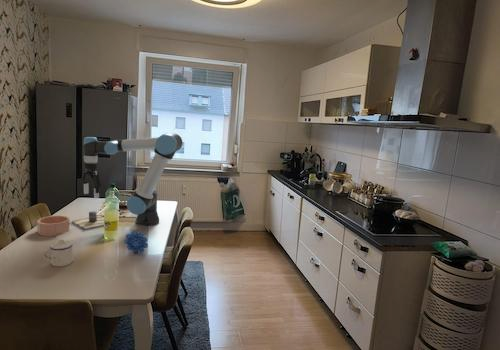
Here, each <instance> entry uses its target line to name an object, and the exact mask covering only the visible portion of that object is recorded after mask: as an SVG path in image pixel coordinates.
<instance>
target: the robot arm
mask: <svg viewBox="0 0 500 350" xmlns="http://www.w3.org/2000/svg"><path fill="white" fill-rule="evenodd" d="M82 145H83V174H82V179H81V183H82V184H83V194H84V195H89V193H90V192H89V191H90V189H89V187H90V186H89V185H90V184H89V183H90V182H89V180H91V182H92V184H93V199H100V188H101V187H102V184H101V181H100V177H99V176H100V174H99V171H96V170H97V169H98V161H99V159H98V154H102V155H103V154H104V155H116V154H117V153H119V152H120V153H121V152H135V151H136V152H138V151H151V150H152V151H153V152H154V156H153V157H152V160H151V162H150V164H149V167H148V169H147V171H146V172H145V174H144V177H143V179H142V180H141V183H140V185H139V187H138V188H136V189H134V191H133V193H132V194H131V196H132V197H130V198H129V200H128V201H127V207H126V208H127V210H128V211H129V212H130V213H131V214H133V215H136V217H135V224H137V225H141V226H144V227H148V226H154V225H155V226H156V225H157V224H160V217H159V215H158V214H159V213H158V209H157V208H158V205H157V203H158V191H157V189H156V187H157V185H158V182H159V181H160V178H161V176H162V174H163V172H164V171H165V168H166V166H167V164H168V162H169V161H170V160H172V159H173V158H174V156H175V154H176V152H179V151H180V149H182V146H183V139H182V137H181V136H180V135H179V134H178V133H173V132H172V133H163V134H161V135H160V136H158V137H145V138H131V139H115V140H108V141H104V140H103V141H101V140H98V138H97V137H95V136H86V137H84V138H83V144H82Z"/></svg>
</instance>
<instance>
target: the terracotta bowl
mask: <svg viewBox="0 0 500 350" xmlns="http://www.w3.org/2000/svg"><path fill="white" fill-rule="evenodd" d="M70 220H71V219H70V217H69V216H67V215H49V216H43V217H41V218H39V219H38V220H37V221H36V224H37V225H36V227H37V234H38V235H39V234H40V236H44V237H55V236H56V237H57V236H58V235H60V234H65V233H66V232H69V231H70V229H71V224H70V222H71V221H70Z"/></svg>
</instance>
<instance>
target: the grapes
mask: <svg viewBox="0 0 500 350" xmlns="http://www.w3.org/2000/svg"><path fill="white" fill-rule="evenodd" d="M147 242H148V238H147V237H146V236H144V234H143V232H137V231H135V230H132V231H131V232H130V233H126V235H125V239H124V244H125V245H127V246H126V249H128V250H130V251H132V252H133V253H135V254H137V253H144V252H145V249H147V248H148V246H149V245H148V243H147Z"/></svg>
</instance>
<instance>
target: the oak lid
mask: <svg viewBox="0 0 500 350" xmlns="http://www.w3.org/2000/svg"><path fill="white" fill-rule="evenodd" d="M104 218H105V217H104V216H103V215H98V213H97V211H89V212H88V217H85V218H80V219H76V220H75V219H74V220H72V221H71V222H72V223H73V224H75V225H77V226H79V227H81V228H82V229H84V230H88V229H93V228H97V227H102V226H104Z"/></svg>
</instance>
